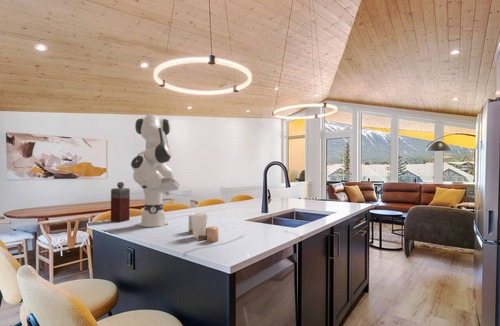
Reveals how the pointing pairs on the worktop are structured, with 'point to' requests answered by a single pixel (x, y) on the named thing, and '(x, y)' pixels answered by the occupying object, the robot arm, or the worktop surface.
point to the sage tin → (190, 223)
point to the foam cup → (199, 223)
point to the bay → (200, 237)
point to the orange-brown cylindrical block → (212, 234)
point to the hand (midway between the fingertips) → (169, 194)
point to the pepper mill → (120, 203)
